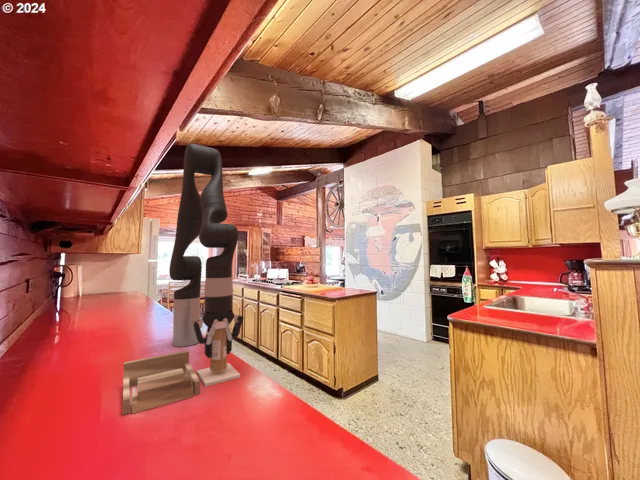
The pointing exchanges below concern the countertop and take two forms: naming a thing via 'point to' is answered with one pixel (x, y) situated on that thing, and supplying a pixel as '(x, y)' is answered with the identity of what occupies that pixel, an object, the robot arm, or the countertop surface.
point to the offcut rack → (159, 381)
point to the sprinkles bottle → (219, 348)
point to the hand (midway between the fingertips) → (218, 355)
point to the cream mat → (217, 375)
